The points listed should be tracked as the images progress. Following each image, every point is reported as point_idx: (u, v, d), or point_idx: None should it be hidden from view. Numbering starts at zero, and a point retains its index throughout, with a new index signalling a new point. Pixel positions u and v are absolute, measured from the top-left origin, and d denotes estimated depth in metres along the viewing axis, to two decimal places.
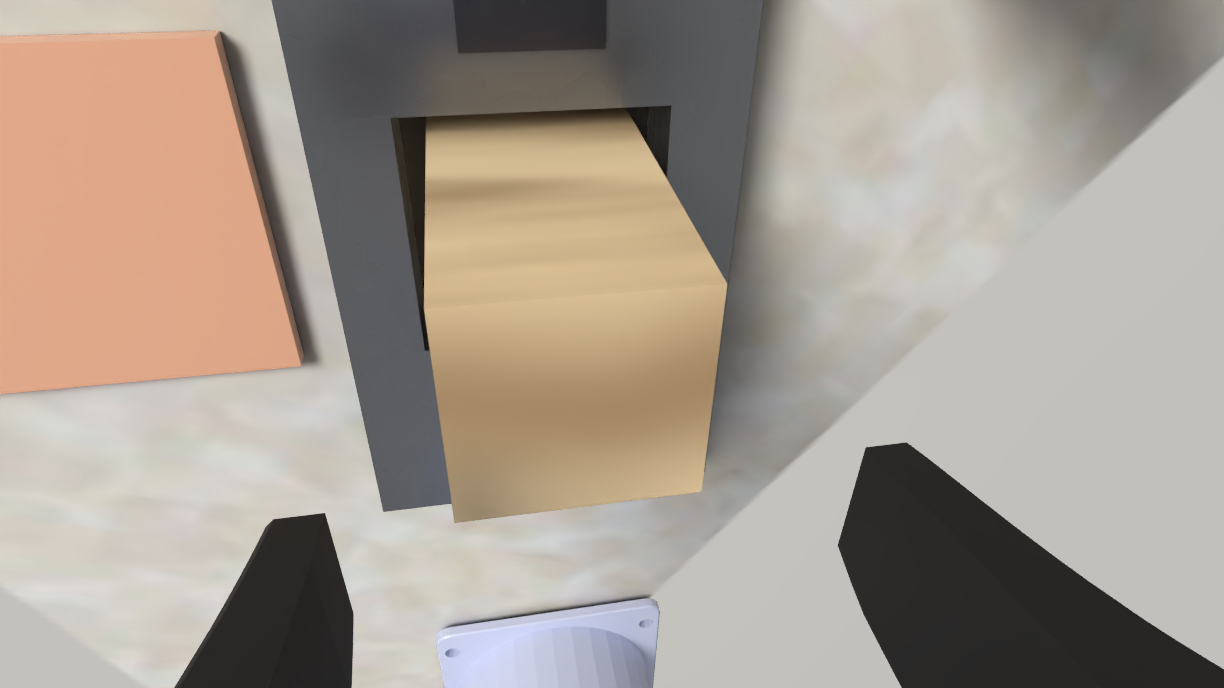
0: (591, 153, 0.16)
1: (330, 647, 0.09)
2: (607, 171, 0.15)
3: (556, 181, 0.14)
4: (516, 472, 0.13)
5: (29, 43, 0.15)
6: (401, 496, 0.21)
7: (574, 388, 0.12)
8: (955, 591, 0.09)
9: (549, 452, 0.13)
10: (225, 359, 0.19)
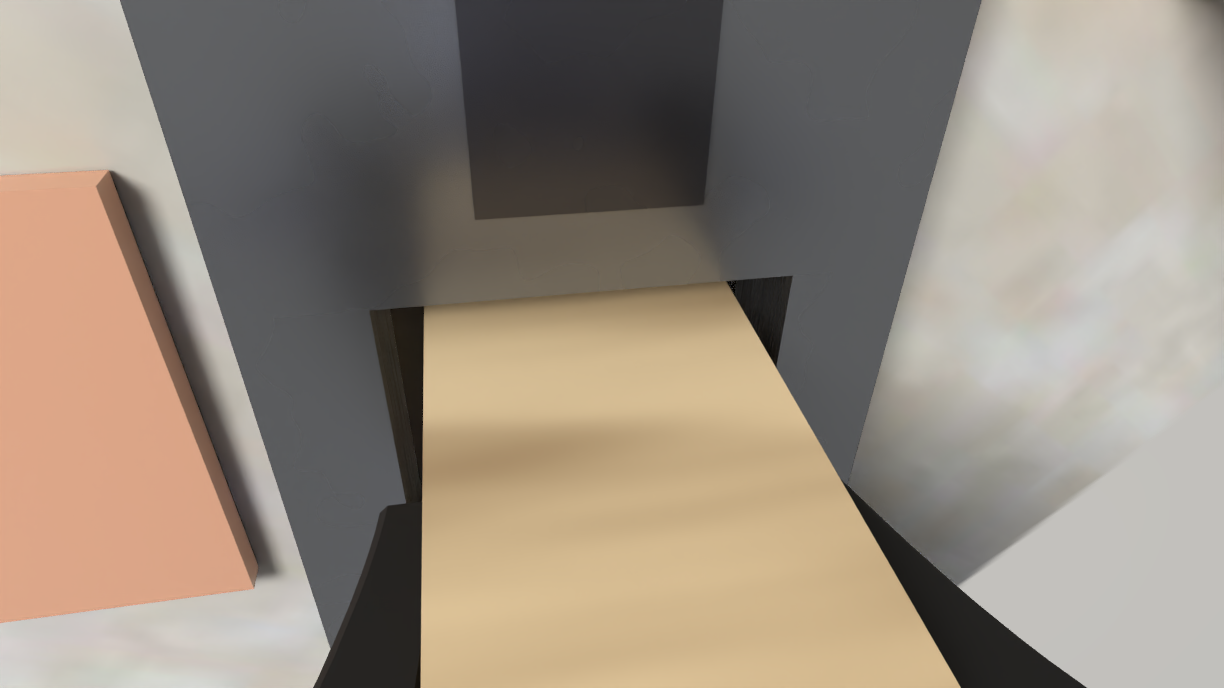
0: (678, 360, 0.10)
1: None
2: (709, 402, 0.09)
3: (632, 429, 0.09)
4: None
5: None
6: None
7: None
8: None
9: None
10: (146, 587, 0.14)
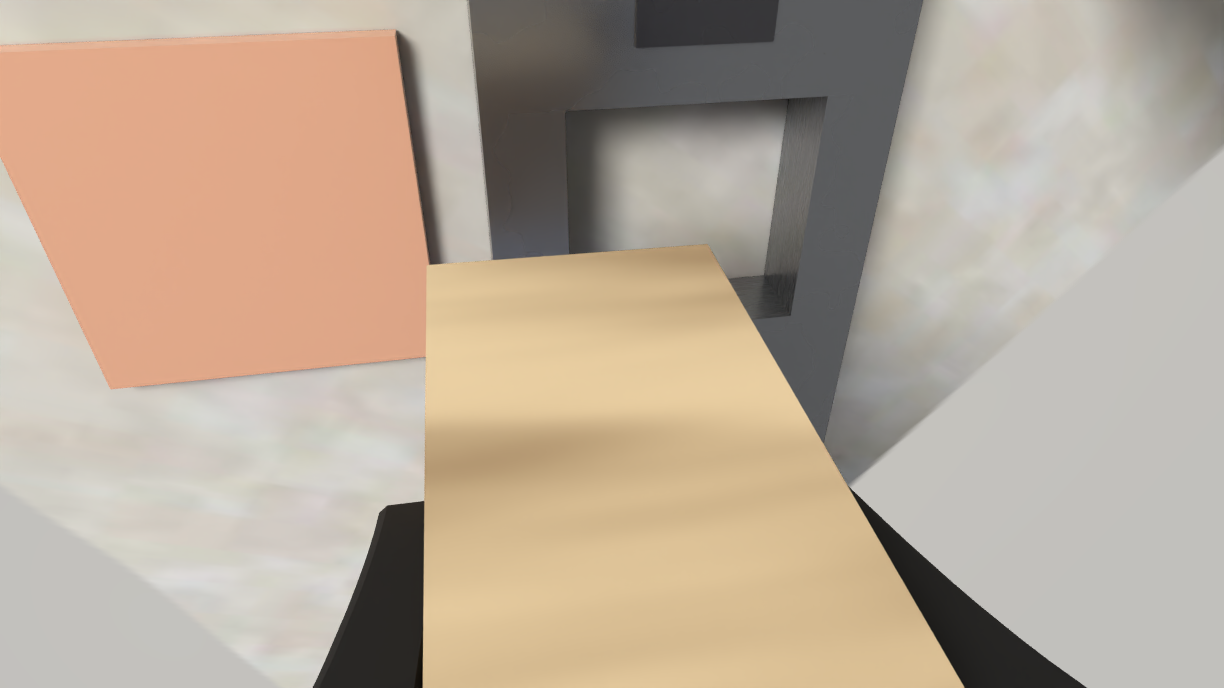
0: (679, 358, 0.10)
1: None
2: (711, 399, 0.09)
3: (634, 427, 0.09)
4: None
5: (224, 43, 0.15)
6: None
7: None
8: None
9: None
10: (372, 348, 0.20)
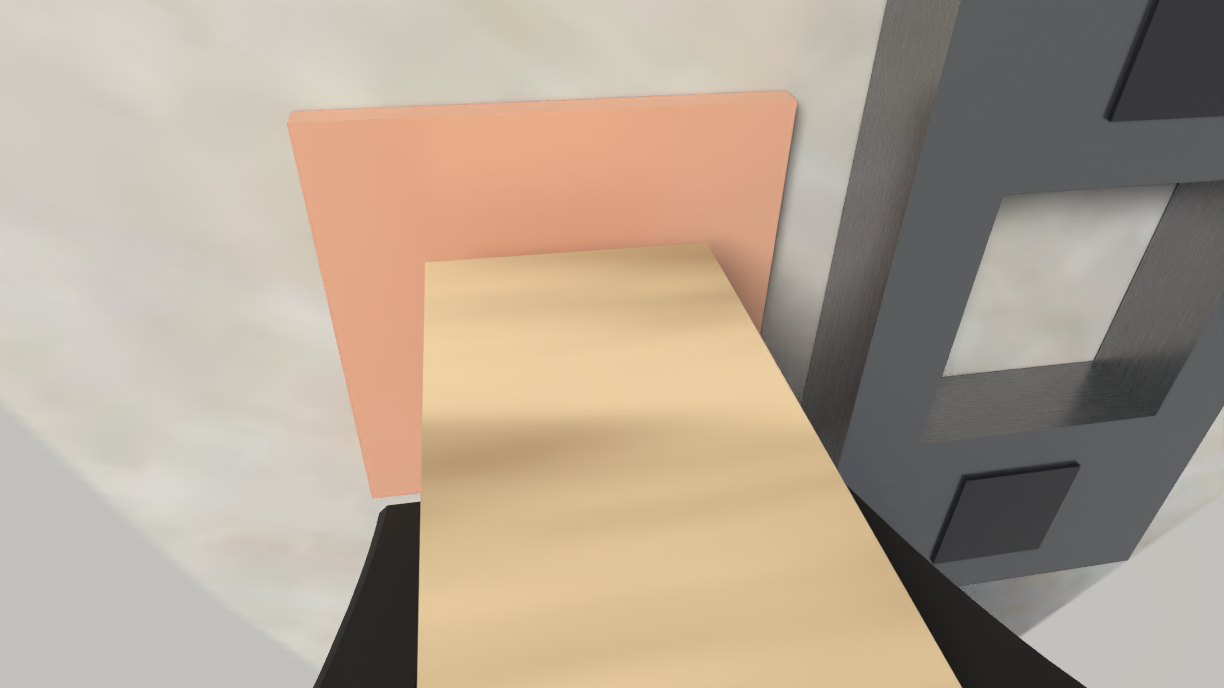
0: (678, 356, 0.10)
1: None
2: (709, 398, 0.09)
3: (632, 424, 0.09)
4: None
5: (603, 110, 0.12)
6: None
7: None
8: None
9: None
10: None
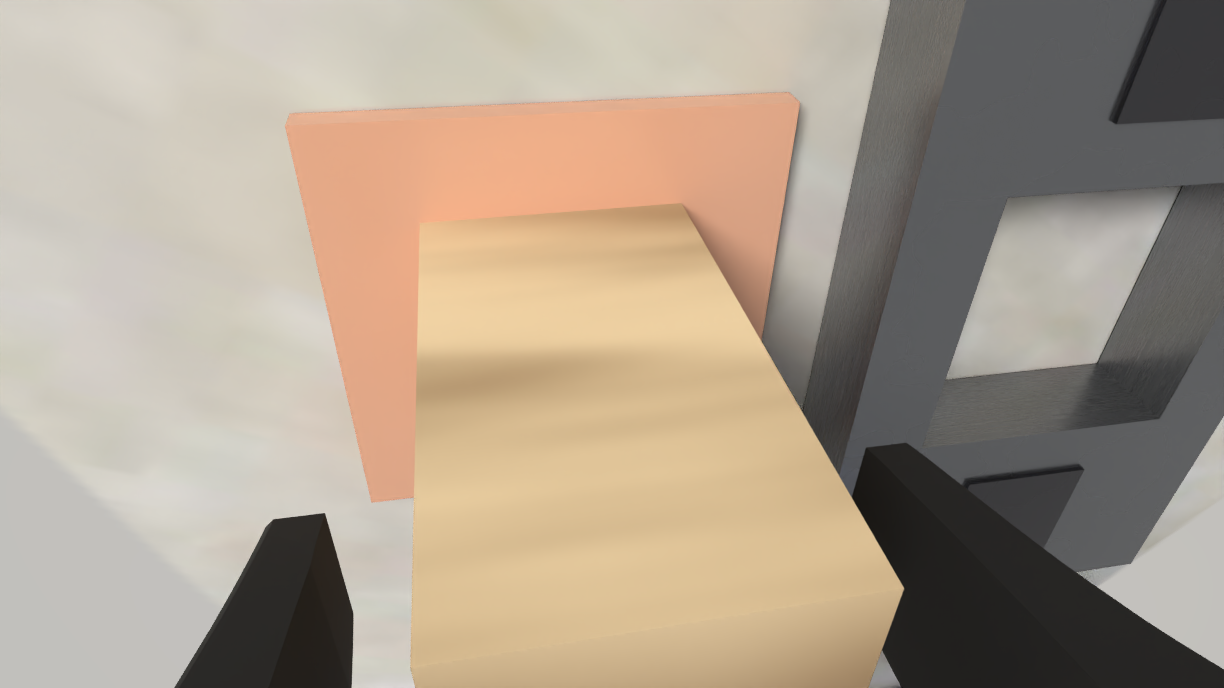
0: (651, 299, 0.11)
1: (330, 647, 0.09)
2: (677, 333, 0.10)
3: (606, 356, 0.10)
4: None
5: (605, 112, 0.12)
6: None
7: None
8: (955, 591, 0.09)
9: None
10: None
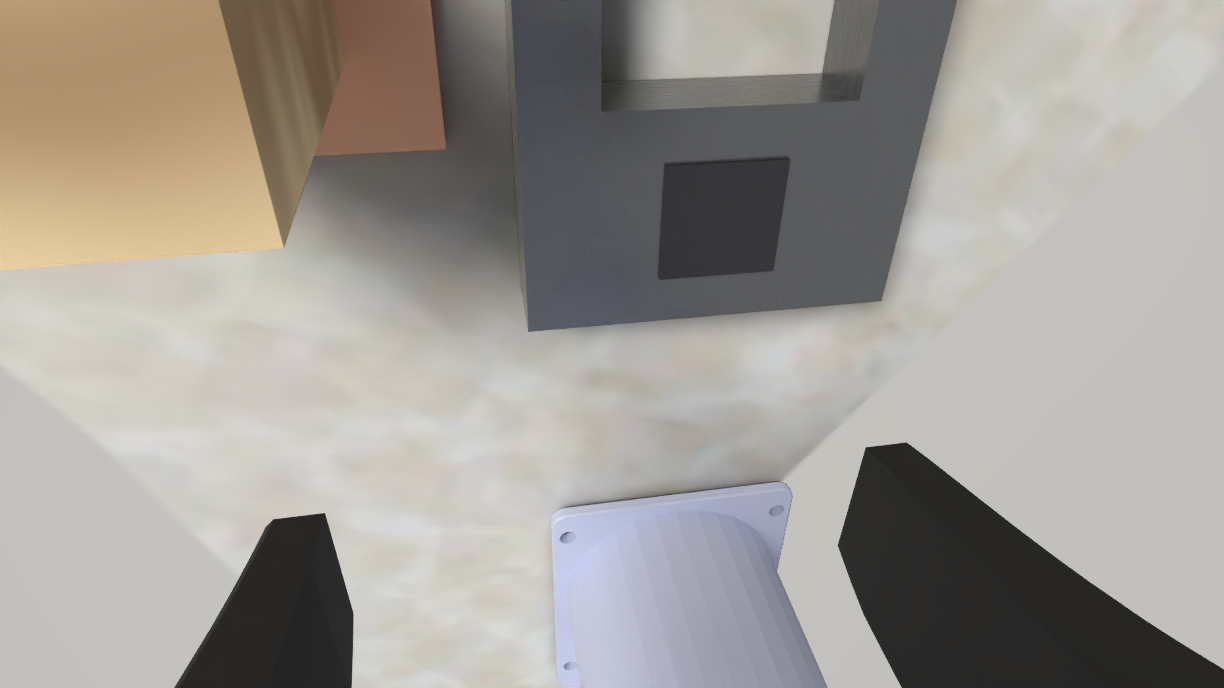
0: None
1: (330, 647, 0.09)
2: None
3: None
4: None
5: None
6: (550, 312, 0.18)
7: None
8: (955, 591, 0.09)
9: None
10: (363, 134, 0.17)
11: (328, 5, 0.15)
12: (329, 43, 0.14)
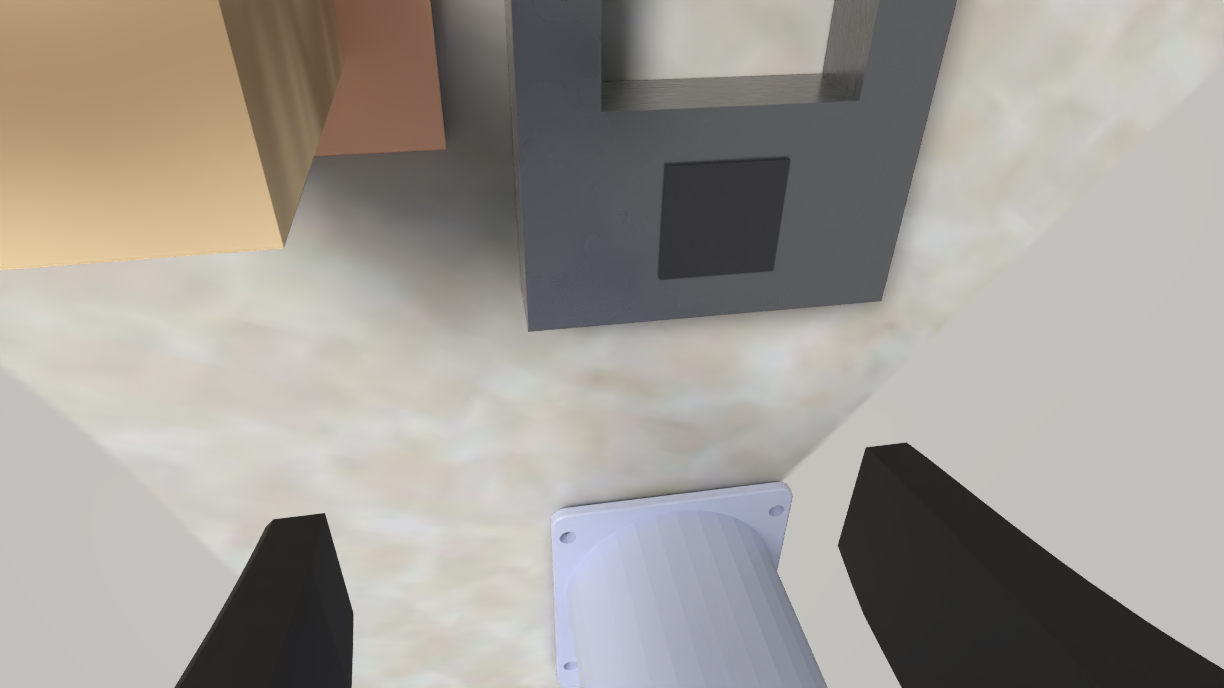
0: None
1: (330, 647, 0.09)
2: None
3: None
4: None
5: None
6: (550, 312, 0.18)
7: None
8: (955, 591, 0.09)
9: None
10: (363, 134, 0.17)
11: (328, 5, 0.15)
12: (329, 43, 0.14)
